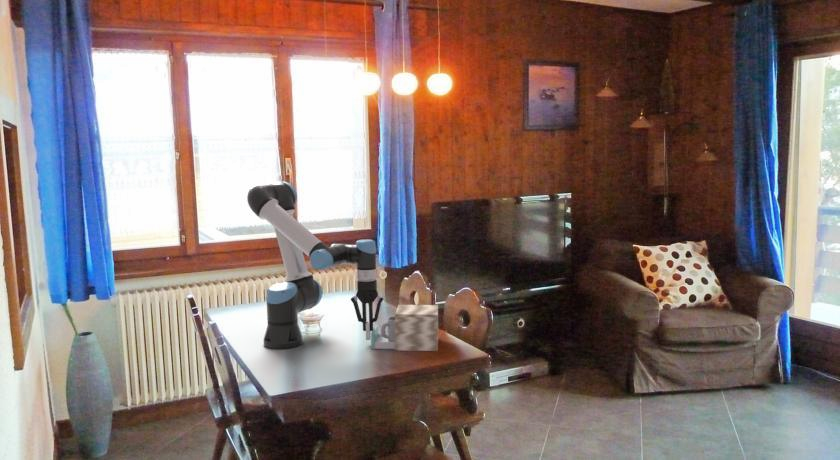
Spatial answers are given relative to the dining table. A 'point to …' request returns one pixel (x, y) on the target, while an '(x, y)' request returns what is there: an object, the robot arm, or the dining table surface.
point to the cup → (389, 329)
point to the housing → (416, 327)
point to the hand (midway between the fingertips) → (368, 338)
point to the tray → (380, 340)
